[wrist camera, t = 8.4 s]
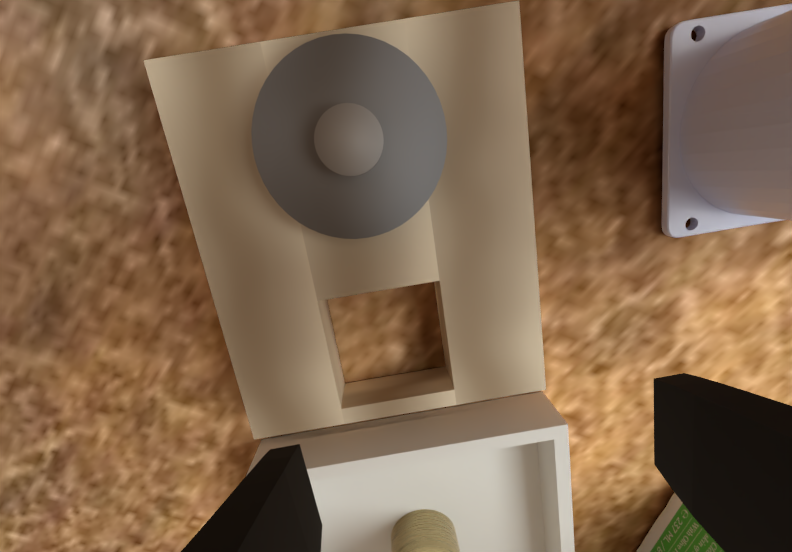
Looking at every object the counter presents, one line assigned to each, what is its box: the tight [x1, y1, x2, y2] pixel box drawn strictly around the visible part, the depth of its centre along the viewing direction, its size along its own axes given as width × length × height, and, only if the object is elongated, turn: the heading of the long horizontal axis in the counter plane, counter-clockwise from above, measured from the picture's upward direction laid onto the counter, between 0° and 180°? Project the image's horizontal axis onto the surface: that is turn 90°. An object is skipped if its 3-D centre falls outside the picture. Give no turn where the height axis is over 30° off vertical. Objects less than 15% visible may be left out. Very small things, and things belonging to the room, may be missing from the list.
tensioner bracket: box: [143, 0, 546, 439], centre depth 14 cm, size 12×14×4 cm
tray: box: [246, 391, 575, 552], centre depth 19 cm, size 13×13×2 cm
